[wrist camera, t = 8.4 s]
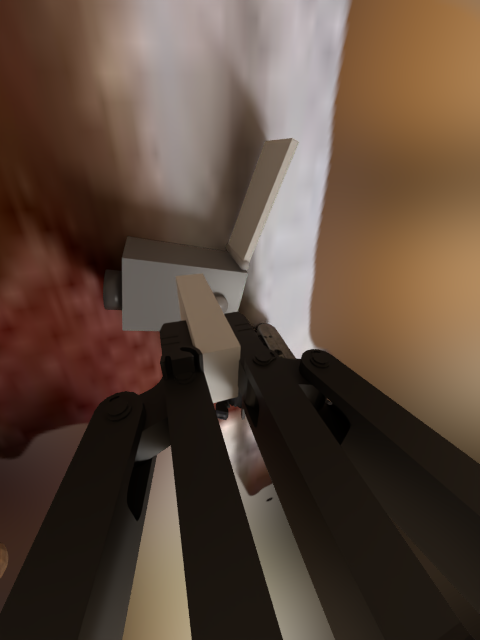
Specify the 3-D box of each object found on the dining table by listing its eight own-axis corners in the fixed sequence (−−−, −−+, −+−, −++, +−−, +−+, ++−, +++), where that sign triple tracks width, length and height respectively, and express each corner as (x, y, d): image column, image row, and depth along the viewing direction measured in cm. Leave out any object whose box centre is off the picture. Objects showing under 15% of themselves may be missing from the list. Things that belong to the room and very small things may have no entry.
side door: (263, 140, 29) (291, 137, 23) (276, 148, 30) (306, 147, 24) (224, 249, 35) (238, 268, 29) (236, 253, 36) (252, 272, 30)
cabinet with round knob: (111, 297, 34) (102, 334, 27) (109, 233, 30) (97, 257, 23) (219, 304, 40) (233, 335, 33) (230, 252, 36) (250, 275, 29)
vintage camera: (192, 320, 41) (212, 426, 25) (273, 321, 46) (332, 410, 30) (188, 362, 46) (202, 471, 30) (262, 358, 51) (306, 451, 35)
